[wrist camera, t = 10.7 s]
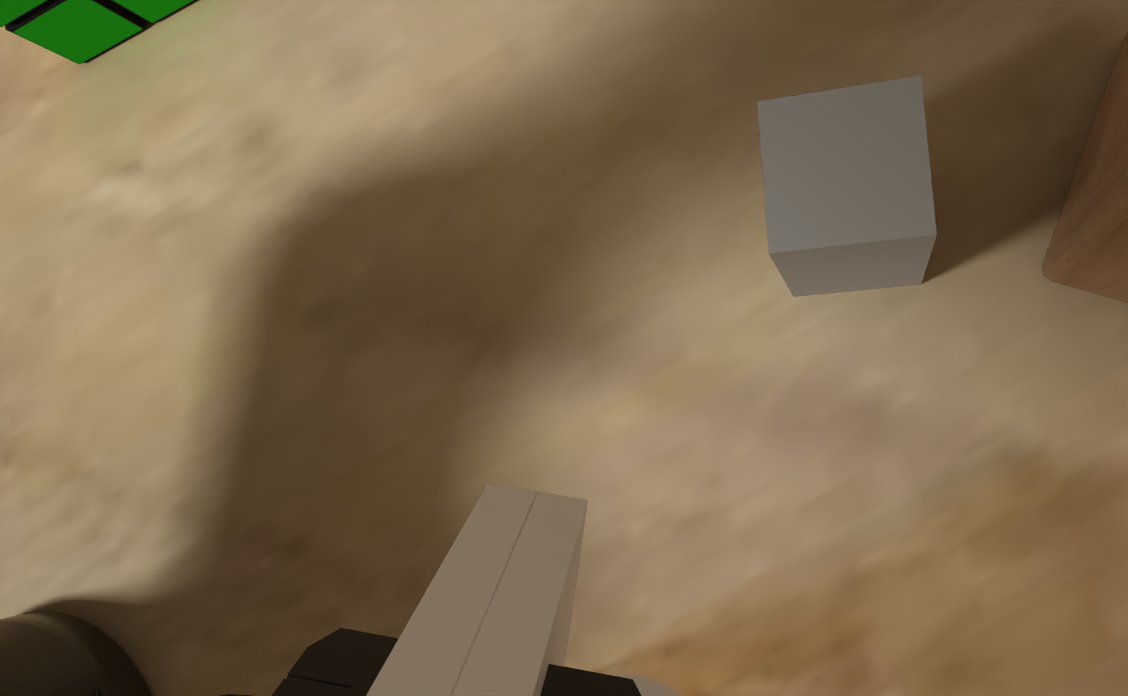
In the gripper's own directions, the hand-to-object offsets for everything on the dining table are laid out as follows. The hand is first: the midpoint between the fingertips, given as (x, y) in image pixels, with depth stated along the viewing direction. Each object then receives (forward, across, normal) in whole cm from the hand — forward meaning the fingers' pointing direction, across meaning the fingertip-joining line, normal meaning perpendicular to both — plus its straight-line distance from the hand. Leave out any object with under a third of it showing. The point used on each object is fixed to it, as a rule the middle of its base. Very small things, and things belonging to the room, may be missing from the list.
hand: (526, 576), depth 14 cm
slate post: (+28, +8, +3) cm, 29 cm away
